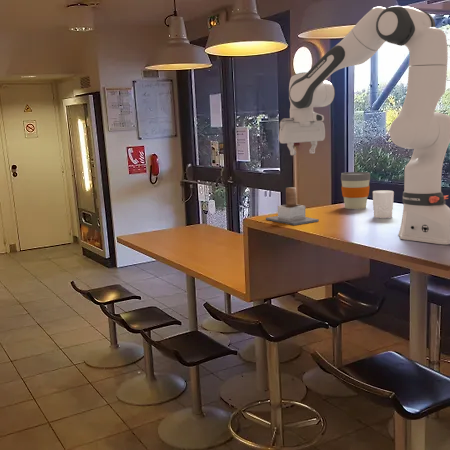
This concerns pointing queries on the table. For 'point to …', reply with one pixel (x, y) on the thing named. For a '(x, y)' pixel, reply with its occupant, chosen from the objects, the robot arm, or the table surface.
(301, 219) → the cup bracket
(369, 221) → the table surface
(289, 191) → the walnut rail post
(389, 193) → the white cup
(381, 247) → the table surface
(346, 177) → the reusable coffee cup
